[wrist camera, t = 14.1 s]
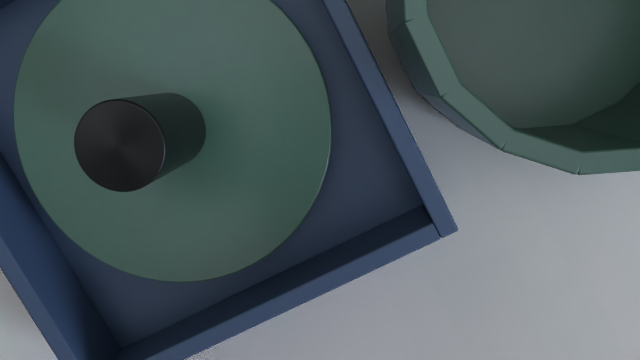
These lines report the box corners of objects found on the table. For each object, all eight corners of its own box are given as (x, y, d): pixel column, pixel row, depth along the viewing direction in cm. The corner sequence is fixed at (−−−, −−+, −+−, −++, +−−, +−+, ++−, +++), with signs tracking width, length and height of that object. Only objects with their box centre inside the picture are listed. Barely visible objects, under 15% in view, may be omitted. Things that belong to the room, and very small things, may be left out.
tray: (121, 361, 22) (86, 405, 19) (-76, 40, 20) (-148, 35, 17) (443, 207, 20) (459, 231, 18) (261, -161, 18) (245, -205, 16)
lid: (191, 327, 21) (138, 412, 16) (-28, 126, 20) (-162, 147, 15) (397, 125, 19) (415, 146, 14) (168, -106, 18) (95, -177, 13)
